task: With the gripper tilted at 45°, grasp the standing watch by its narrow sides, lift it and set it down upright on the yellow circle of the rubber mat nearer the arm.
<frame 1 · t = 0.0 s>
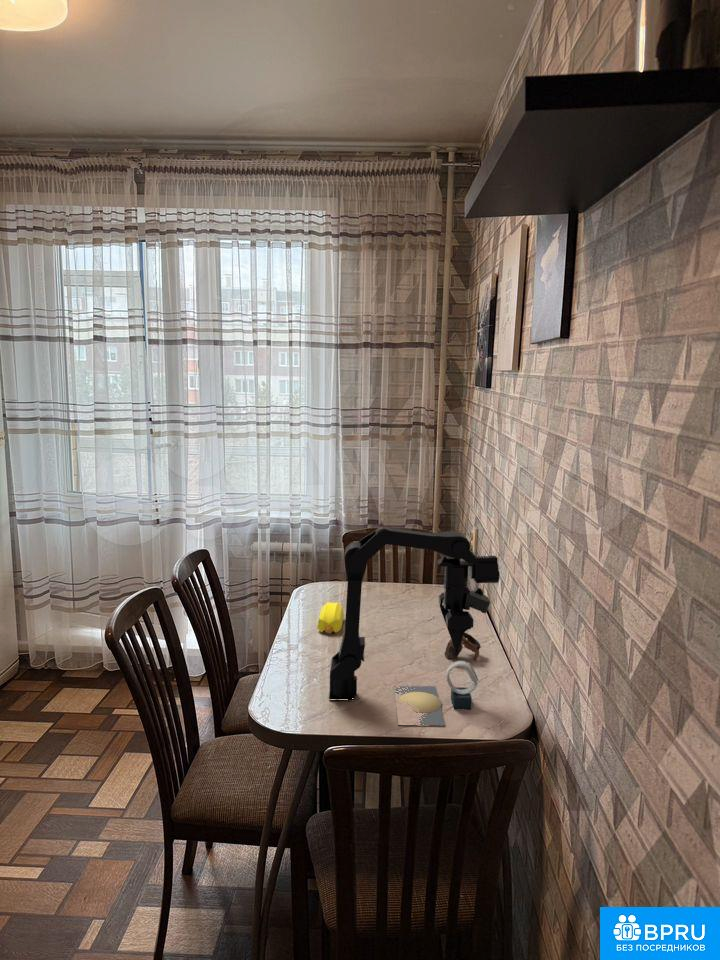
hand: (454, 641, 166), 15 cm above the table, tool pointing down, fingers open, 9 cm apart
watch: (461, 704, 164), on the table
yellow faceted lump: (330, 626, 217), on the table
brown curved piece: (459, 658, 192), on the table
mat: (417, 705, 163), on the table
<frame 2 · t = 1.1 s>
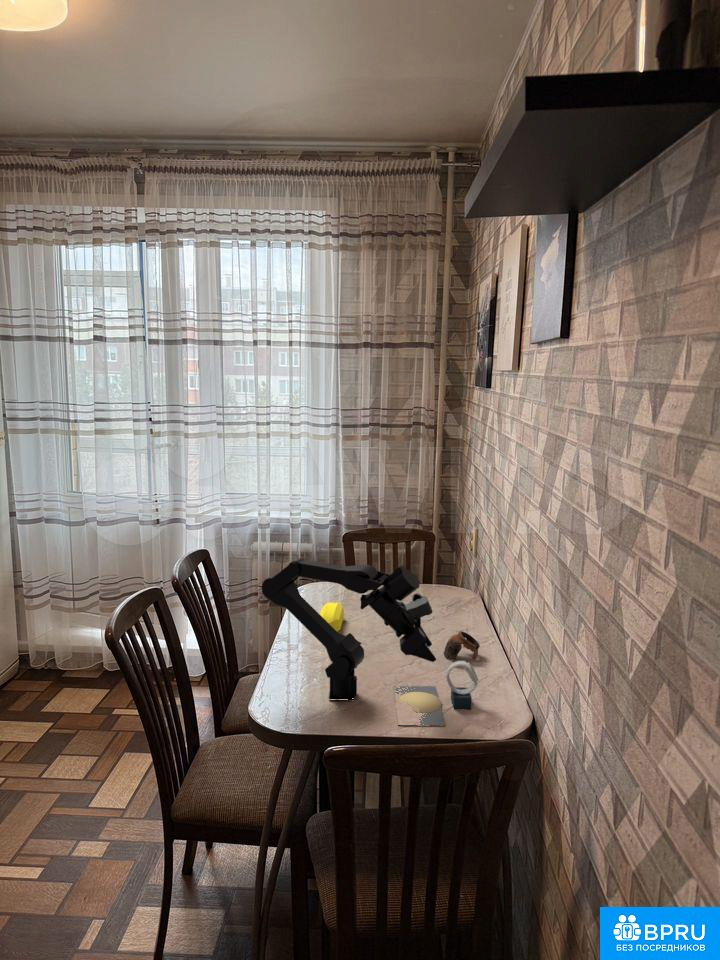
hand: (432, 652, 162), 13 cm above the table, tool tilted 45°, fingers open, 9 cm apart
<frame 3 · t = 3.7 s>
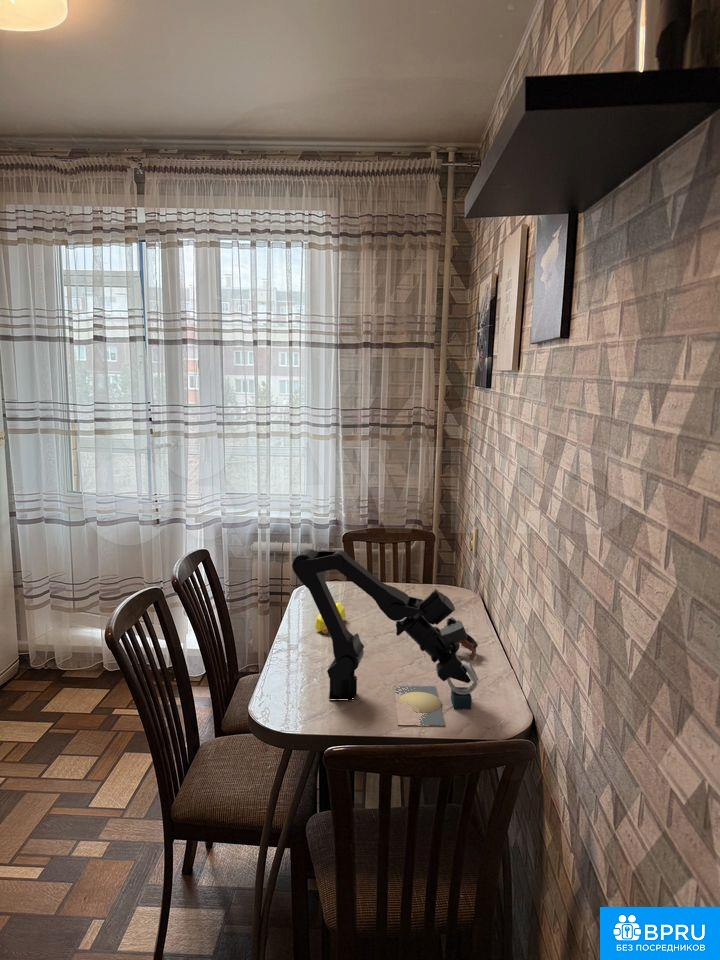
hand: (467, 677, 163), 7 cm above the table, tool tilted 45°, fingers closed on watch, 5 cm apart
watch: (461, 704, 164), on the table, touching gripper
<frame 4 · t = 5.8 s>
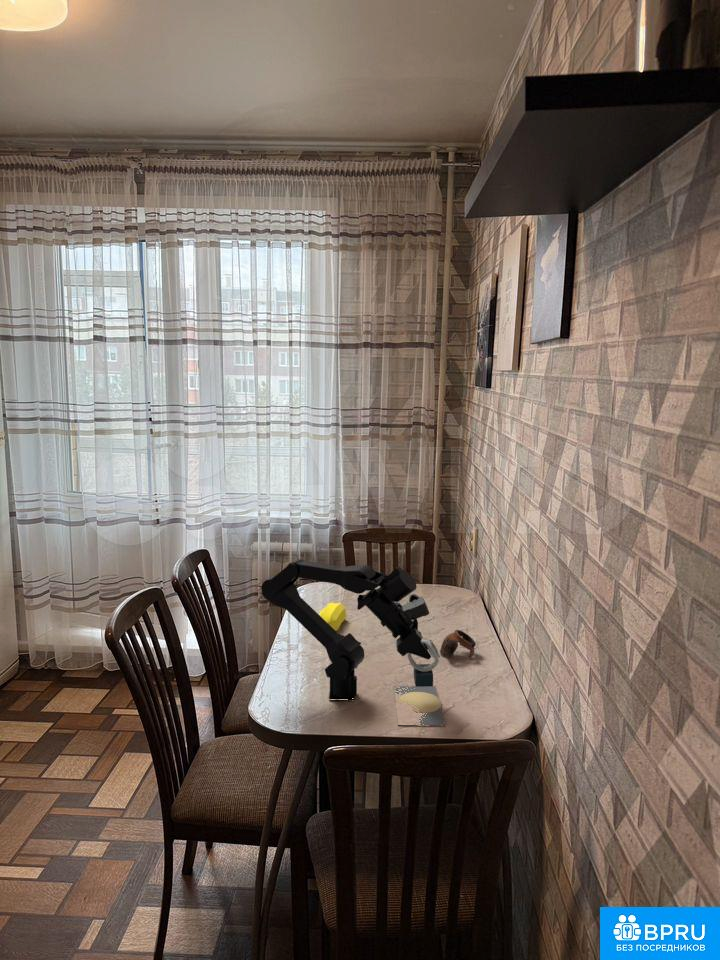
hand: (428, 653, 163), 13 cm above the table, tool tilted 45°, fingers closed on watch, 5 cm apart
watch: (423, 681, 164), point 6 cm above the table, touching gripper
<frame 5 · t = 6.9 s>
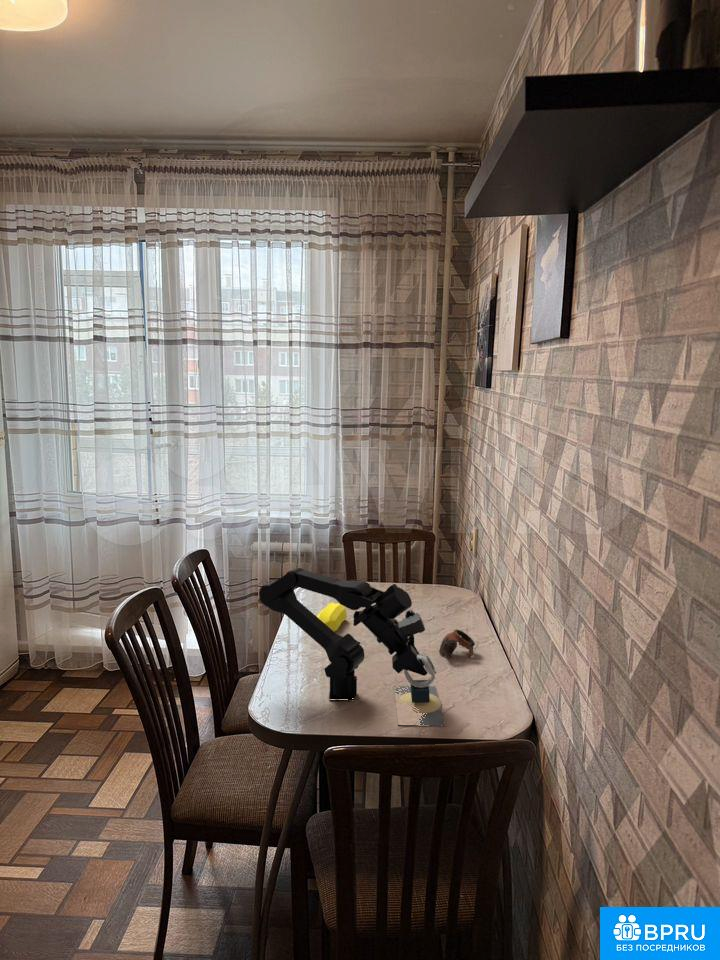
hand: (425, 669, 163), 9 cm above the table, tool tilted 45°, fingers closed on watch, 5 cm apart
watch: (420, 697, 164), point 1 cm above the table, touching gripper
when the fingers open (9 cm above the table, at t = 7.8 s): watch stays where it is, resting on mat.
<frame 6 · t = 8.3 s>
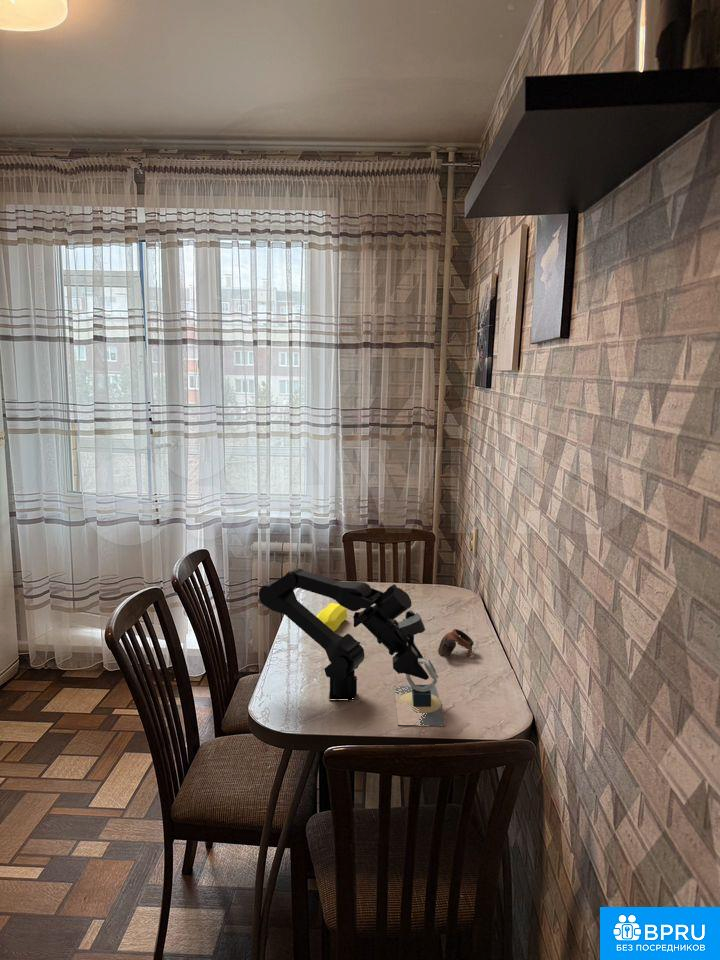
hand: (425, 670, 163), 9 cm above the table, tool tilted 45°, fingers open, 9 cm apart
watch: (421, 702, 164), resting on mat
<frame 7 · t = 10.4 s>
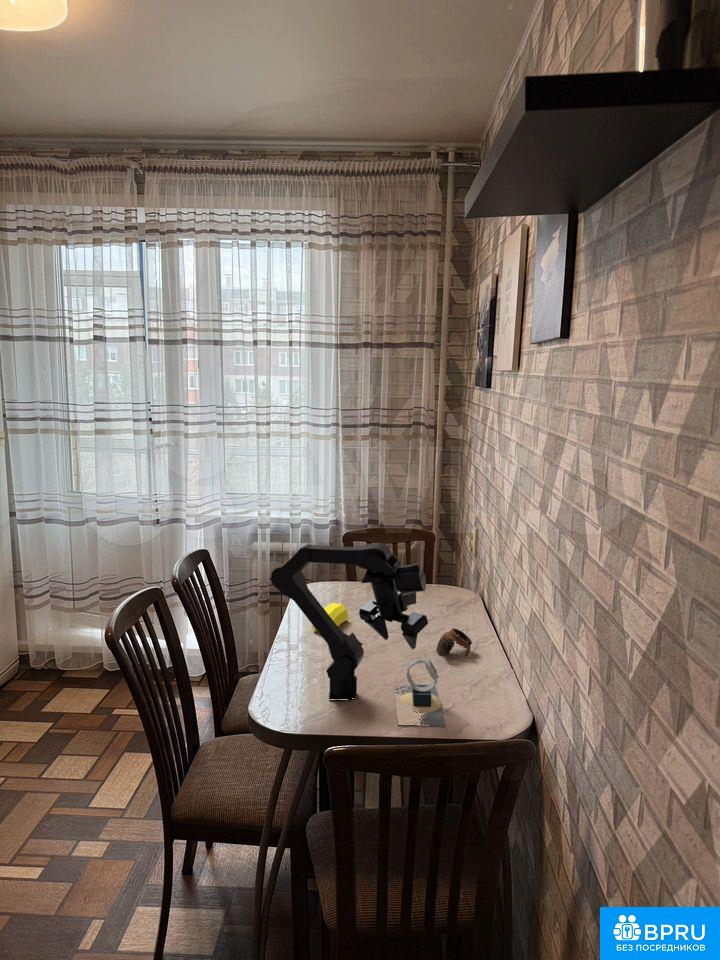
hand: (400, 643, 168), 13 cm above the table, tool tilted 20°, fingers open, 9 cm apart
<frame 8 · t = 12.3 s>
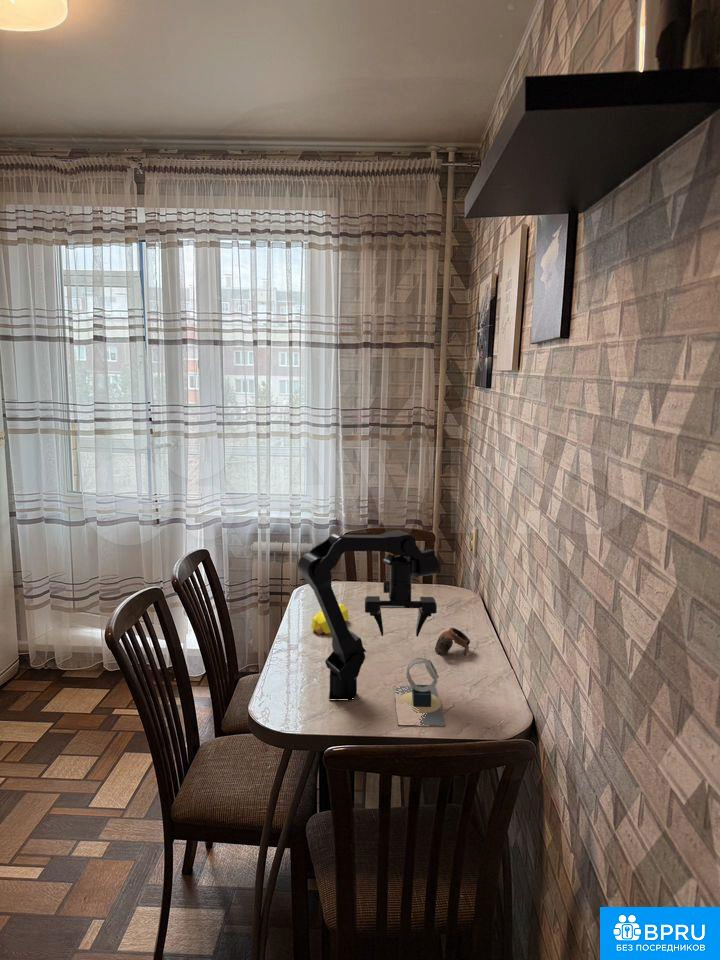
hand: (399, 635, 174), 13 cm above the table, tool pointing down, fingers open, 9 cm apart
at the end: watch inside the target area on the mat (1.0 cm from its centre), point 0.2 cm above the mat's base; watch tilted 0°; watch touching mat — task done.
